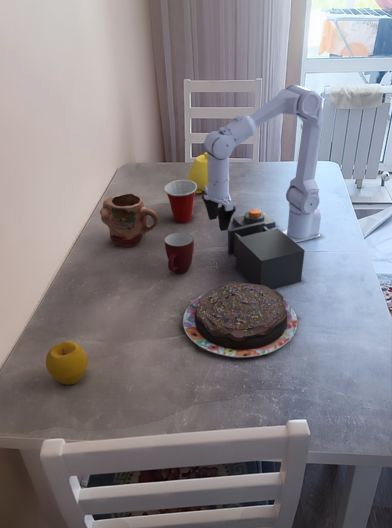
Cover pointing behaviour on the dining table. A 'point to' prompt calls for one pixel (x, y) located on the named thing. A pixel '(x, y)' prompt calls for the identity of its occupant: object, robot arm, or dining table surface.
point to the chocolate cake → (240, 320)
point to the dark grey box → (242, 232)
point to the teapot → (199, 172)
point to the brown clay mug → (126, 219)
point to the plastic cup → (181, 199)
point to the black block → (270, 259)
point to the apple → (66, 362)
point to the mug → (179, 251)
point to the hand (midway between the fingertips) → (218, 224)
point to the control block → (254, 220)
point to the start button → (254, 213)
